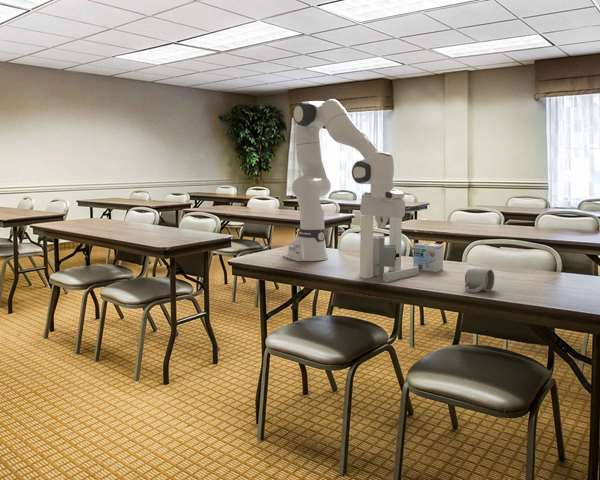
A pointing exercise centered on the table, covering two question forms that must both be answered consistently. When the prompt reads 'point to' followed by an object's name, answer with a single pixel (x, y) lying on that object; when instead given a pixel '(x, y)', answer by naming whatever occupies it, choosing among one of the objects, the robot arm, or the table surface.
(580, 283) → the table surface
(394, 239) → the post
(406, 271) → the bar
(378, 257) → the circuit breaker
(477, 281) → the ceramic mug
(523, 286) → the table surface
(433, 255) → the light bulb box
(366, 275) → the post
